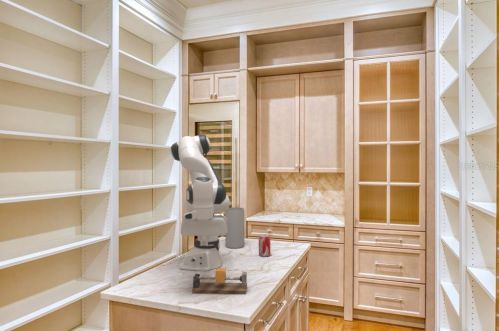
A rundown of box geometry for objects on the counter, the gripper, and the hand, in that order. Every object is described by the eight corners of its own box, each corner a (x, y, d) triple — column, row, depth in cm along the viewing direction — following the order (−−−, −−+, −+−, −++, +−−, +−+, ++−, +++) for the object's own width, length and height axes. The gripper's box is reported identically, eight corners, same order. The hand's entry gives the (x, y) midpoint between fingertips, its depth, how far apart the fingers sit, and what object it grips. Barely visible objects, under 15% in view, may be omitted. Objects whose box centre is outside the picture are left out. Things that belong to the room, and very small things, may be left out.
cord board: (192, 293, 140) (191, 275, 140) (196, 285, 149) (196, 269, 149) (245, 294, 139) (245, 276, 139) (247, 286, 148) (247, 269, 148)
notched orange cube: (215, 282, 142) (215, 271, 142) (216, 279, 147) (216, 267, 146) (224, 282, 142) (224, 271, 142) (225, 279, 146) (225, 267, 146)
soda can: (256, 255, 196) (256, 235, 196) (264, 253, 201) (264, 233, 201) (264, 258, 191) (264, 237, 191) (272, 255, 196) (272, 235, 196)
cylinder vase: (221, 246, 217) (221, 209, 217) (233, 243, 227) (233, 206, 227) (236, 249, 209) (235, 210, 209) (248, 245, 219) (247, 208, 219)
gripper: (228, 212, 147) (228, 243, 147) (183, 213, 148) (183, 244, 148) (226, 214, 140) (226, 247, 140) (179, 215, 142) (179, 247, 142)
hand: (204, 245), depth 144 cm, fingers closed
